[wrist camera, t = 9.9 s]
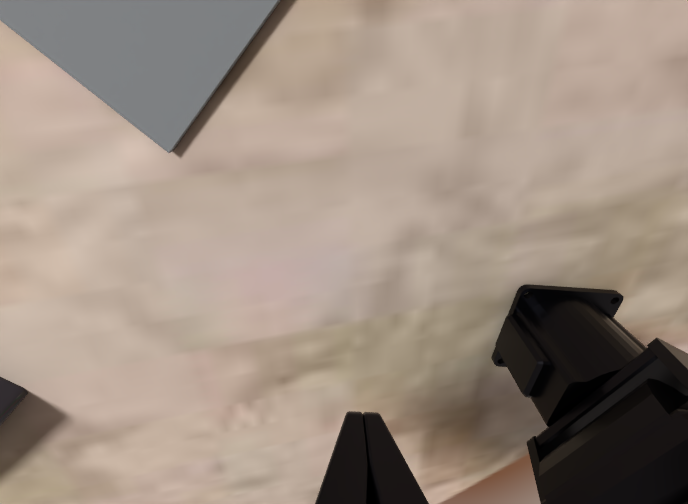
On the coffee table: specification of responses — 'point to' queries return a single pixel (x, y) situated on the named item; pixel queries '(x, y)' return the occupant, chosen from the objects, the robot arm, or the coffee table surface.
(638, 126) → the coffee table surface
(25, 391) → the red and grey box
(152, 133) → the mat
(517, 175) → the coffee table surface
